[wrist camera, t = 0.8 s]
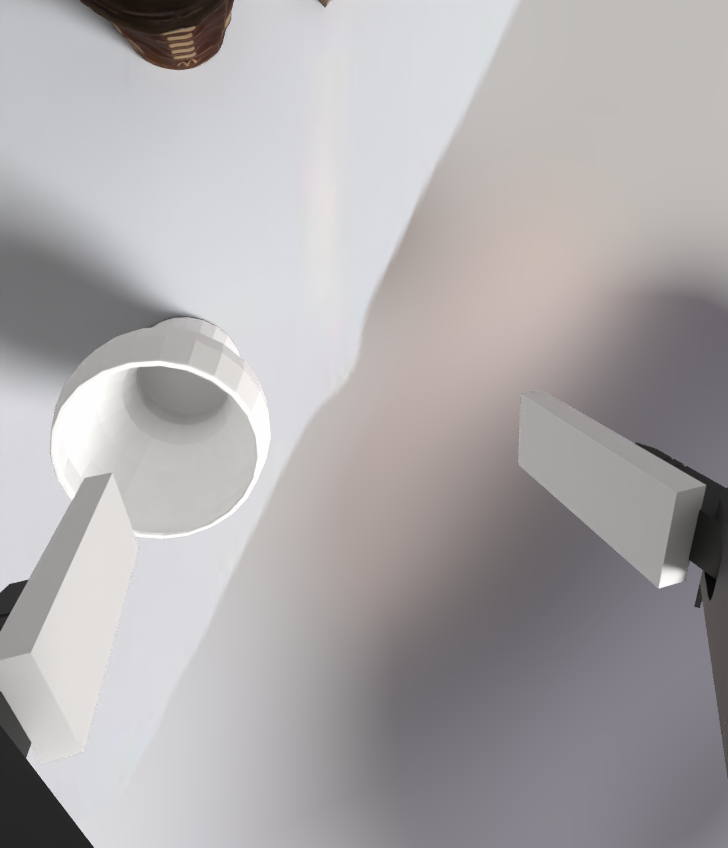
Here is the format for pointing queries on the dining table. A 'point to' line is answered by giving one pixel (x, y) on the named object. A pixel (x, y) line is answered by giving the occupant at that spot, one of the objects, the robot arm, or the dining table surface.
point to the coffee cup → (169, 28)
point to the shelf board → (325, 2)
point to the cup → (164, 426)
